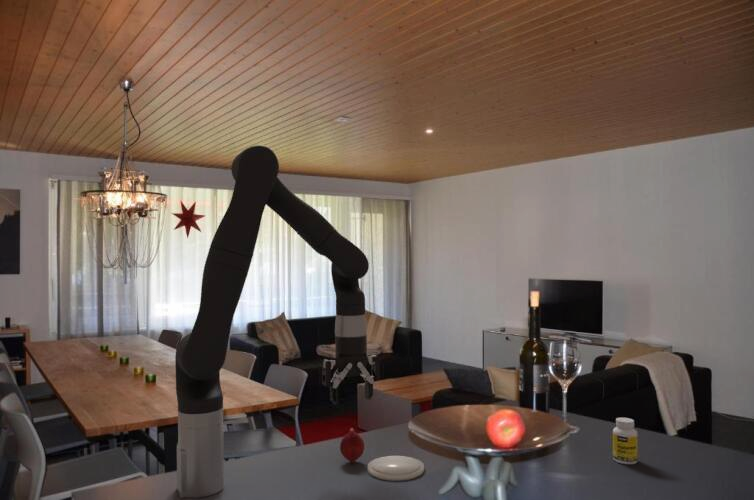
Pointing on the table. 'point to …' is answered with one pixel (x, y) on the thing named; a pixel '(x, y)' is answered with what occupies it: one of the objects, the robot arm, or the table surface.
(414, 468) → the saucer
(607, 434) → the table surface
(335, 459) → the table surface
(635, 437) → the supplement bottle
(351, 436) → the onion
